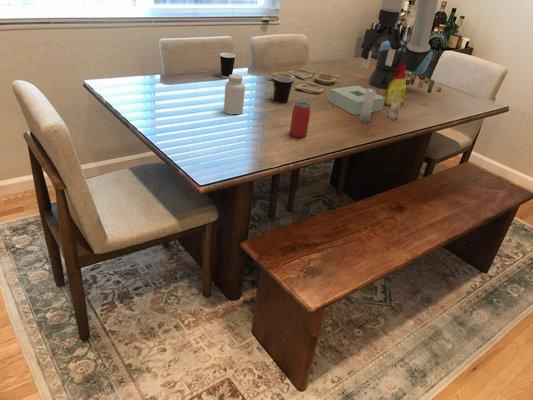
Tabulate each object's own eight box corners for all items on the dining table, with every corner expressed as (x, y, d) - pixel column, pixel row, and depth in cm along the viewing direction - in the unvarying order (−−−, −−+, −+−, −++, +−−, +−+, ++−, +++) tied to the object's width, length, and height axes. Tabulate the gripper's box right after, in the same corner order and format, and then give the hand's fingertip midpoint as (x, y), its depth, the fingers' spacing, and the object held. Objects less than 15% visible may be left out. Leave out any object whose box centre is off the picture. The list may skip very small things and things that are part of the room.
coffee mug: (288, 105, 195) (291, 83, 190) (269, 102, 196) (272, 80, 191) (292, 97, 205) (295, 76, 200) (274, 94, 206) (276, 73, 201)
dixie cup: (215, 76, 220) (216, 54, 214) (224, 73, 226) (225, 51, 220) (228, 80, 217) (229, 58, 211) (237, 77, 223) (238, 55, 217)
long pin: (363, 118, 190) (371, 87, 183) (370, 122, 188) (378, 90, 180) (357, 120, 188) (364, 88, 181) (363, 123, 186) (371, 91, 178)
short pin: (392, 116, 197) (396, 101, 194) (398, 119, 195) (402, 104, 191) (386, 117, 195) (390, 102, 192) (392, 120, 193) (396, 105, 189)
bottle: (387, 107, 207) (398, 65, 196) (378, 102, 212) (388, 61, 201) (405, 105, 213) (416, 63, 202) (395, 100, 217) (406, 60, 207)
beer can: (288, 130, 170) (292, 101, 164) (304, 131, 171) (309, 102, 165) (290, 137, 165) (294, 107, 159) (307, 138, 166) (312, 108, 159)
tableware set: (314, 97, 210) (316, 89, 207) (263, 82, 221) (264, 74, 219) (343, 82, 236) (344, 75, 234) (296, 70, 247) (297, 62, 245)
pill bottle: (228, 116, 177) (230, 79, 169) (220, 108, 183) (222, 73, 175) (246, 114, 180) (249, 78, 172) (238, 107, 186) (240, 72, 178)
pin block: (355, 97, 215) (358, 85, 211) (382, 110, 202) (385, 97, 199) (328, 101, 205) (330, 88, 202) (354, 115, 193) (357, 102, 190)
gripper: (404, 8, 173) (390, 62, 184) (359, 7, 160) (347, 65, 171) (419, 12, 168) (404, 67, 179) (374, 11, 155) (361, 71, 166)
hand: (376, 66), depth 175 cm, fingers open, 13 cm apart
